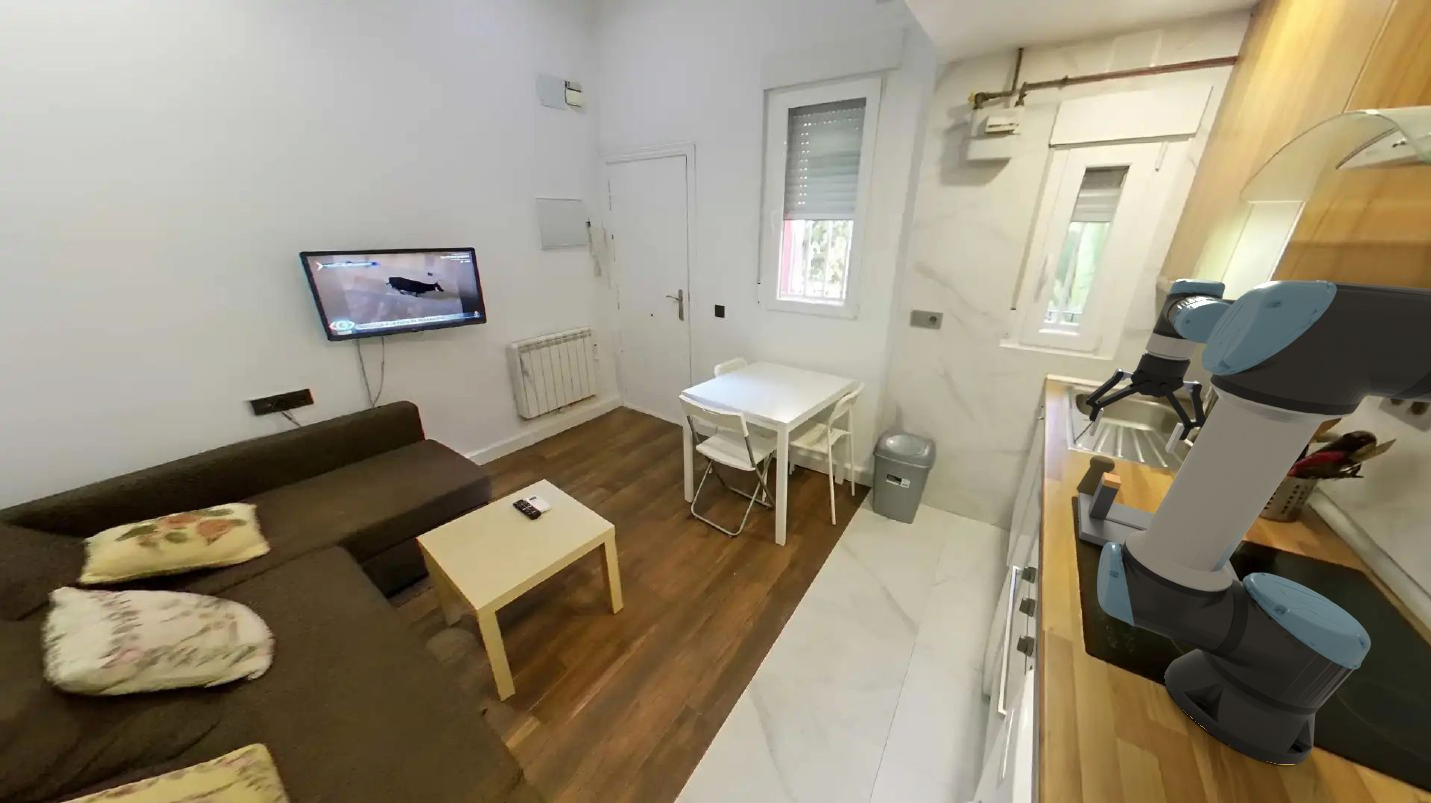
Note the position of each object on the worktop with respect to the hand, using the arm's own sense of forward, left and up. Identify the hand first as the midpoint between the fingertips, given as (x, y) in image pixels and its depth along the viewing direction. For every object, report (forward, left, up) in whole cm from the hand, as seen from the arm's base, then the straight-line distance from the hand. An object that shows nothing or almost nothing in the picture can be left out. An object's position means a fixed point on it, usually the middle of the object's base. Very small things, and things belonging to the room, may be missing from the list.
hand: (1128, 442), depth 102 cm
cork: (+16, 0, -23) cm, 28 cm away
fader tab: (0, 0, -20) cm, 20 cm away
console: (0, -10, -23) cm, 25 cm away
